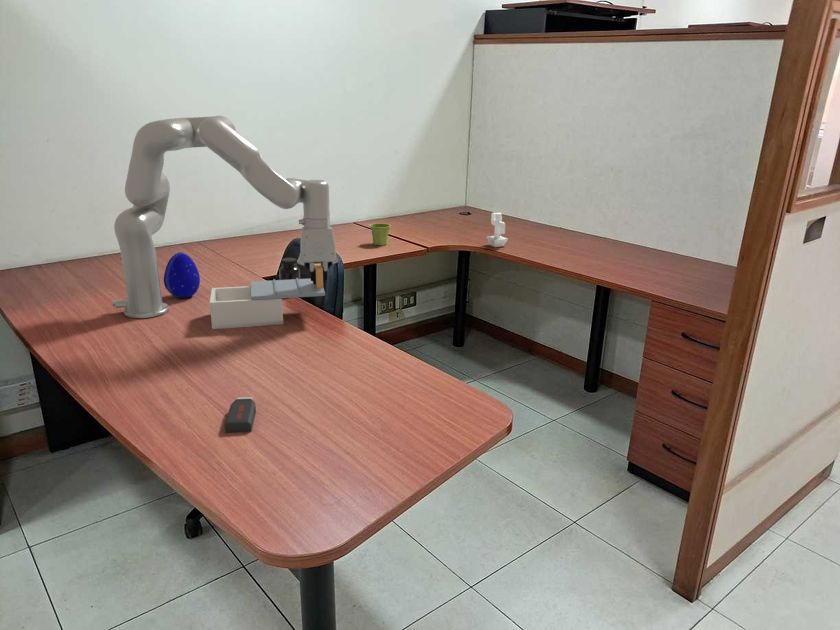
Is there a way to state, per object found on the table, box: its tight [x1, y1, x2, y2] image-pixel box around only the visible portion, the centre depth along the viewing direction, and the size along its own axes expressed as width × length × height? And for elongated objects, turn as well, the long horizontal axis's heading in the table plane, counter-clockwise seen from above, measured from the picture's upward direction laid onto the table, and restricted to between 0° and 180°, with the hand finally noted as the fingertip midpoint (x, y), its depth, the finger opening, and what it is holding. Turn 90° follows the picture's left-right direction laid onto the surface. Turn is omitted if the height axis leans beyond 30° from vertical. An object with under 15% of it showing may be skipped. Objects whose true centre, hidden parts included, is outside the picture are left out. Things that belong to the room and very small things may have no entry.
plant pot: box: [369, 222, 391, 247], centre depth 278 cm, size 9×9×9 cm
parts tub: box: [209, 285, 284, 330], centre depth 185 cm, size 20×14×8 cm
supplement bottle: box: [278, 257, 301, 280], centre depth 207 cm, size 7×7×12 cm
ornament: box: [163, 251, 201, 299], centre depth 201 cm, size 11×9×15 cm
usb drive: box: [224, 396, 257, 434], centre depth 130 cm, size 5×12×3 cm, turn 8°
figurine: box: [486, 212, 509, 248], centre depth 280 cm, size 7×9×15 cm
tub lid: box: [250, 262, 326, 300], centre depth 185 cm, size 21×15×7 cm
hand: (318, 282), depth 188 cm, fingers closed on tub lid, 2 cm apart
